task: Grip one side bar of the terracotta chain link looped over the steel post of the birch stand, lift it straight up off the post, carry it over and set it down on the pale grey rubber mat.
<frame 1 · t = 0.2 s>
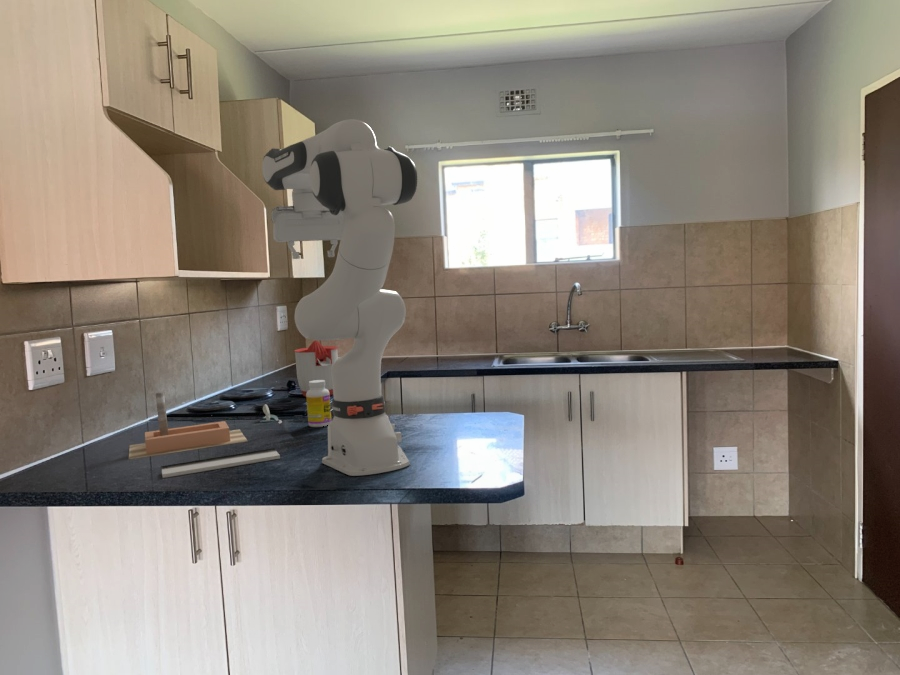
hand: (314, 257, 183), 48 cm above the countertop, fingers open, 8 cm apart
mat: (220, 460, 164), on the countertop
supplement bottle: (320, 425, 197), on the countertop
citrus juicer: (320, 395, 246), on the countertop
stand: (188, 448, 178), on the countertop
link: (188, 443, 177), point 1 cm above the countertop, touching stand
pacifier: (271, 425, 202), on the countertop
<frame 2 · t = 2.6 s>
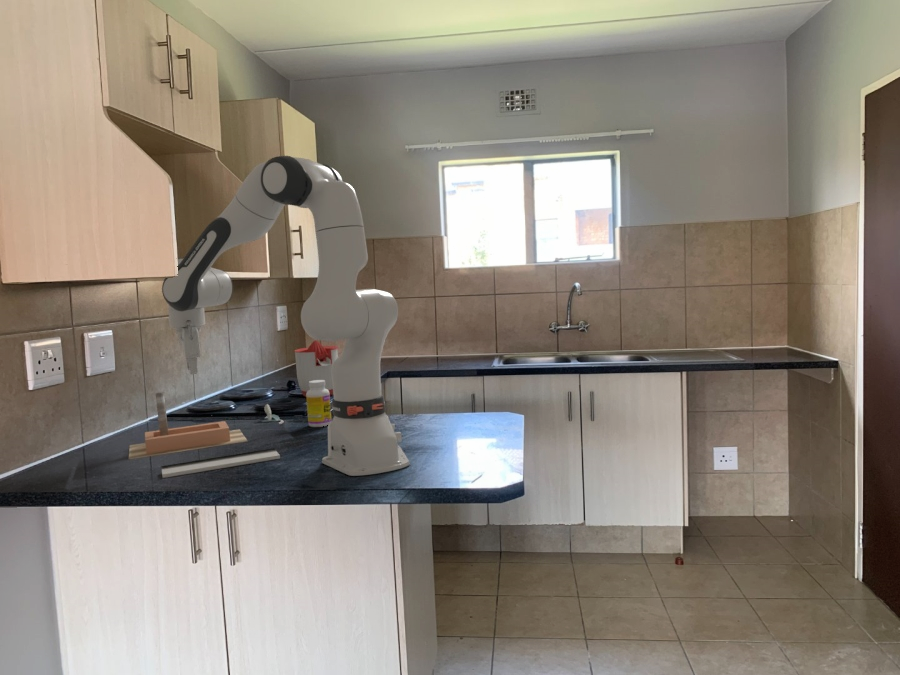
hand: (192, 371, 181), 20 cm above the countertop, fingers open, 8 cm apart
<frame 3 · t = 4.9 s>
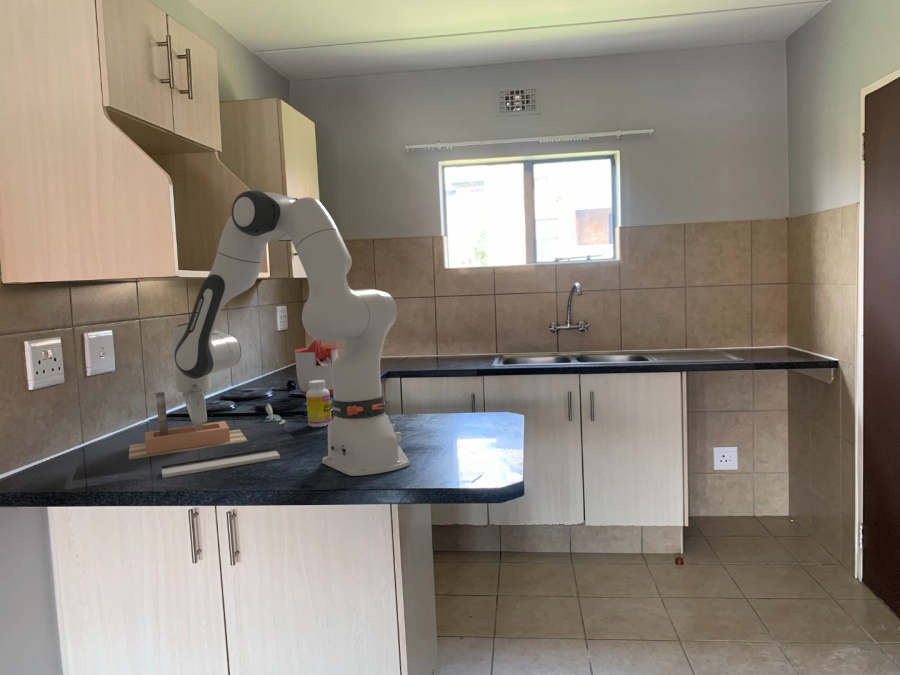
hand: (198, 433, 182), 3 cm above the countertop, fingers closed on link, 2 cm apart
link: (188, 443, 177), point 1 cm above the countertop, touching gripper, stand
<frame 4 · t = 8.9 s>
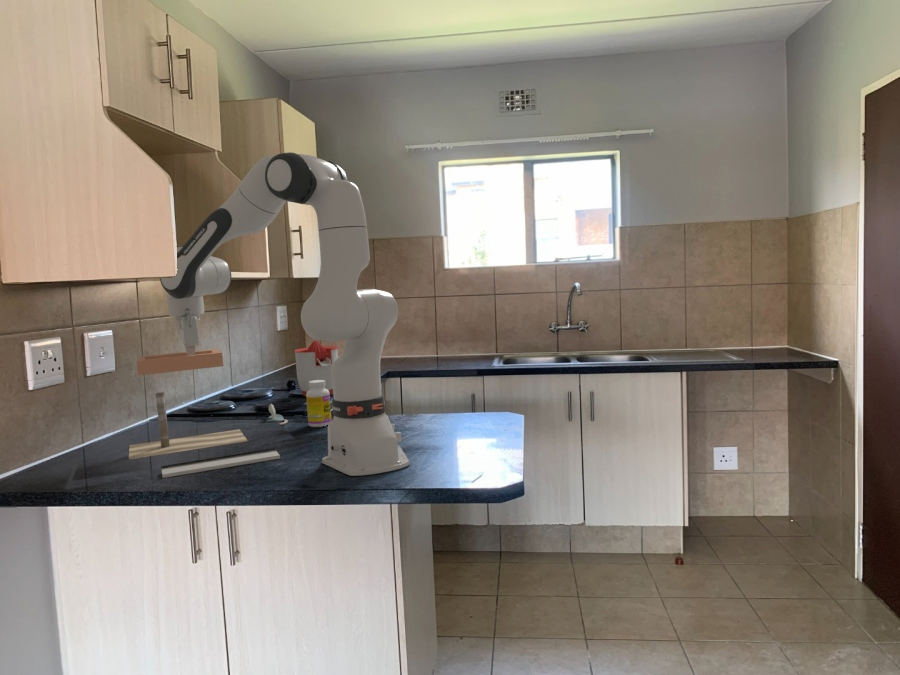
hand: (191, 360, 180), 23 cm above the countertop, fingers closed on link
link: (180, 368, 176), point 21 cm above the countertop, touching gripper
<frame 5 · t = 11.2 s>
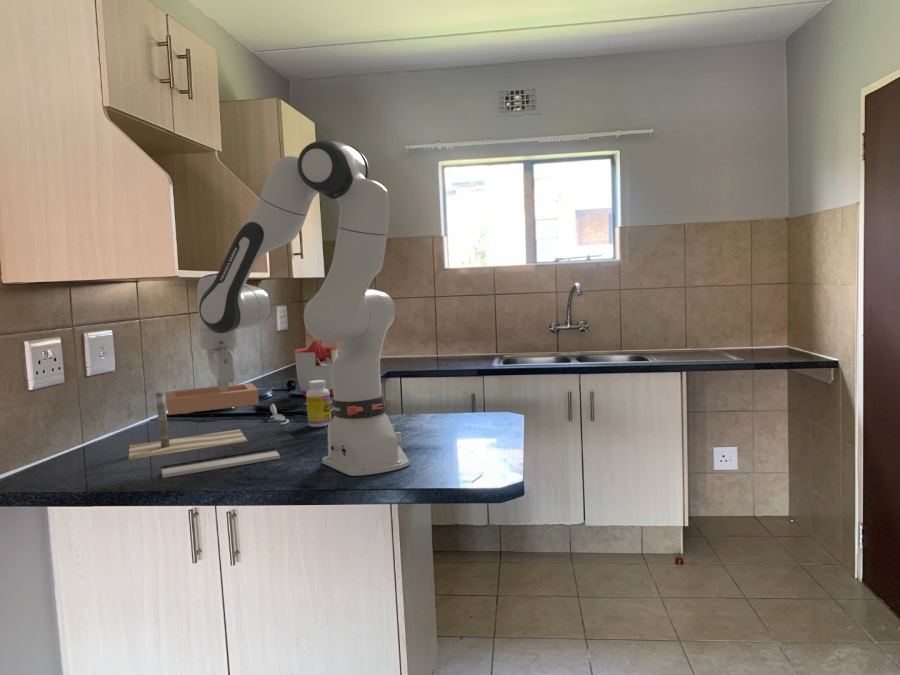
hand: (223, 396, 167), 15 cm above the countertop, fingers closed on link
link: (212, 405, 163), point 14 cm above the countertop, touching gripper
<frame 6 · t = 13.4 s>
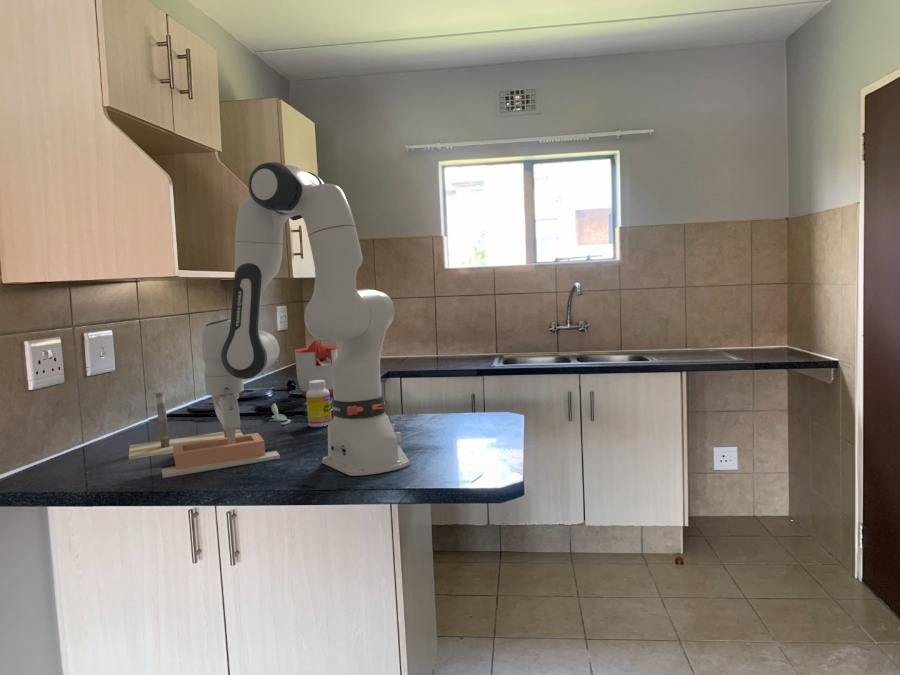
hand: (229, 440, 168), 4 cm above the countertop, fingers open, 5 cm apart
link: (219, 457, 164), point 1 cm above the countertop, touching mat
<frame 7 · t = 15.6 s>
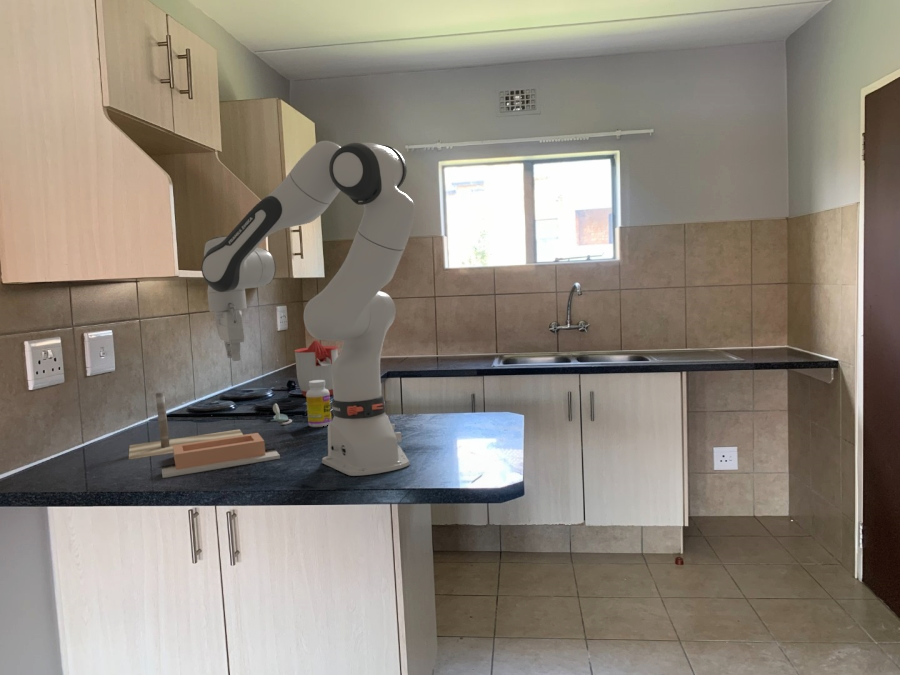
hand: (233, 359, 168), 24 cm above the countertop, fingers open, 8 cm apart
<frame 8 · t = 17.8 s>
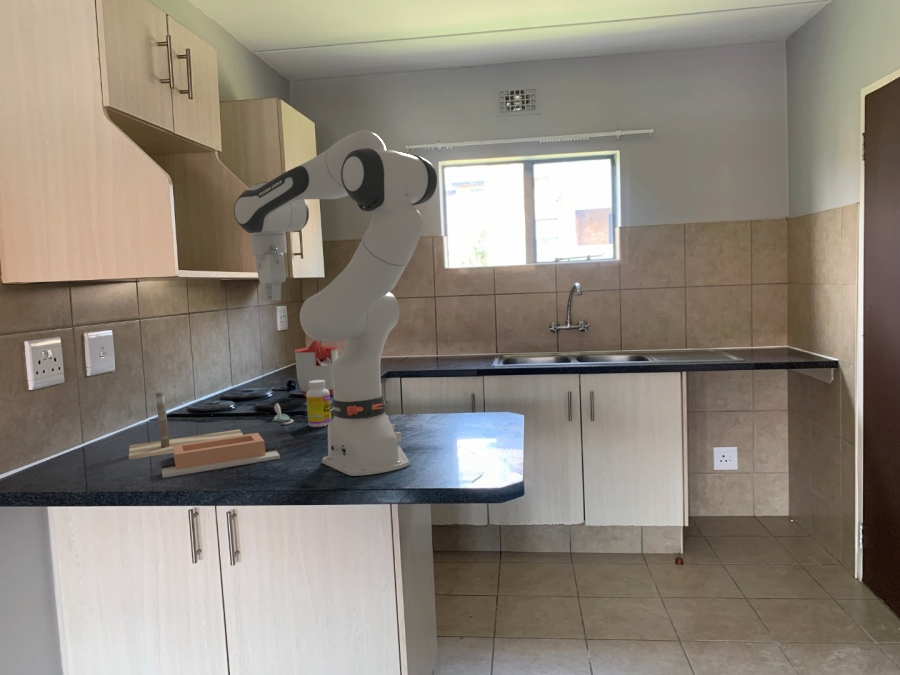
hand: (273, 300, 178), 37 cm above the countertop, fingers open, 8 cm apart
at the end: link inside the target area on the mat (0.3 cm from its centre), point 0.8 cm above the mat's base; the gripper is holding nothing; link tilted 0° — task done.
